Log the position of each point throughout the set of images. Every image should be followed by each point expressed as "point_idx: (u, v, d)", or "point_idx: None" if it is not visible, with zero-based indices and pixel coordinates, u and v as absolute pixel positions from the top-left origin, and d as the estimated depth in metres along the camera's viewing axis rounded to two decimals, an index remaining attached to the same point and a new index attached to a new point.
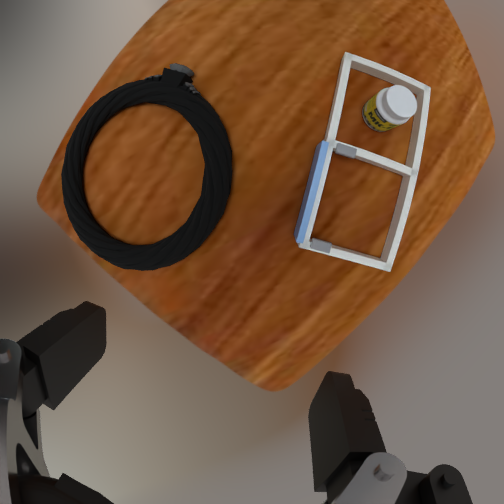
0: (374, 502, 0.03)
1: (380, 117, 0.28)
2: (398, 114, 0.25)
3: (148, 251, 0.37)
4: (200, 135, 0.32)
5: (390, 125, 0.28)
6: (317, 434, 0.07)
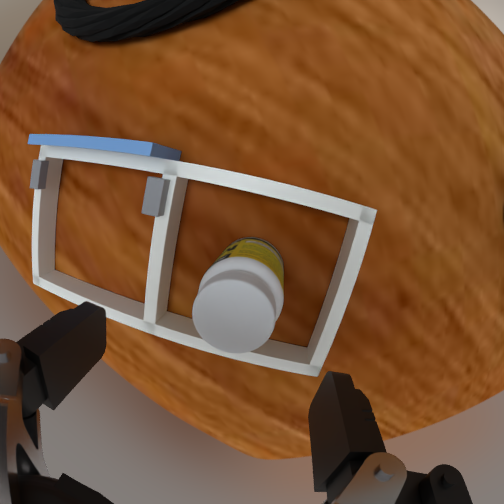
0: (374, 502, 0.03)
1: None
2: (194, 304, 0.13)
3: None
4: None
5: None
6: (317, 434, 0.07)
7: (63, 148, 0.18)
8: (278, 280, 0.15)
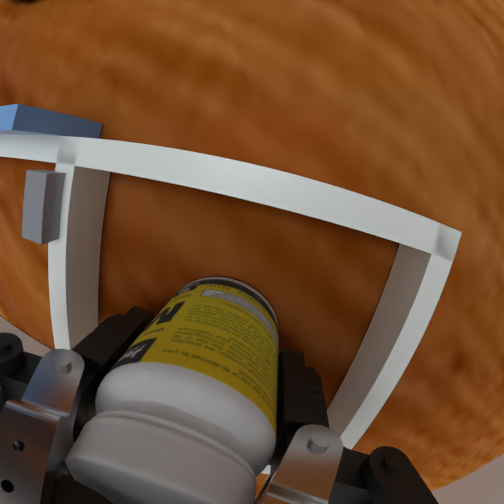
0: (313, 476, 0.04)
1: None
2: None
3: None
4: None
5: None
6: None
7: None
8: (264, 417, 0.05)
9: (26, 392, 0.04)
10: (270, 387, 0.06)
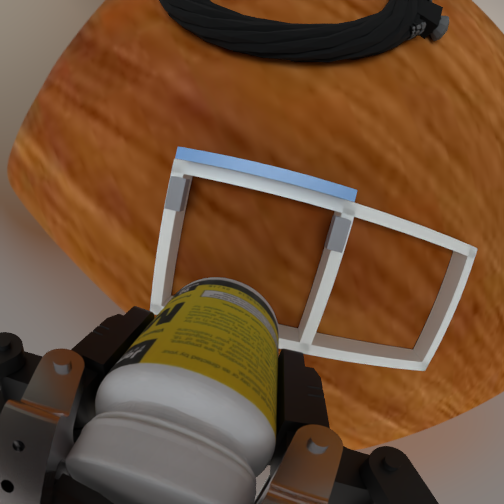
0: (313, 476, 0.04)
1: (115, 364, 0.06)
2: None
3: None
4: (351, 22, 0.16)
5: None
6: None
7: (215, 168, 0.20)
8: (264, 418, 0.05)
9: (25, 393, 0.04)
10: (270, 388, 0.06)
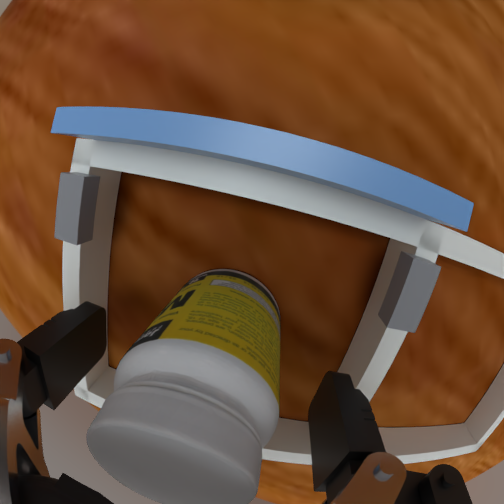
0: (373, 502, 0.03)
1: (133, 344, 0.07)
2: (88, 443, 0.04)
3: None
4: None
5: None
6: (317, 434, 0.07)
7: (145, 150, 0.09)
8: (269, 388, 0.06)
9: None
10: (273, 364, 0.07)
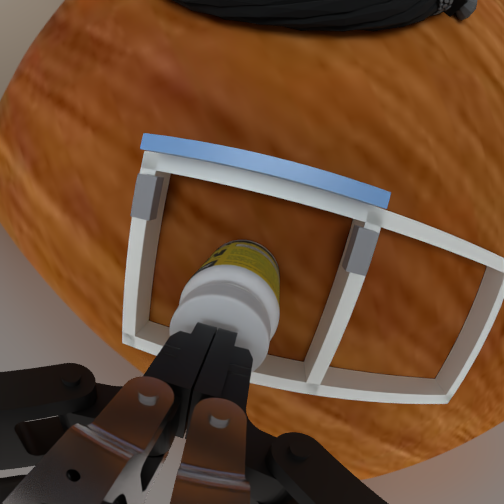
0: (222, 451, 0.04)
1: (194, 274, 0.13)
2: (172, 323, 0.10)
3: None
4: None
5: None
6: None
7: (196, 162, 0.15)
8: (273, 293, 0.12)
9: (97, 417, 0.04)
10: (275, 286, 0.14)
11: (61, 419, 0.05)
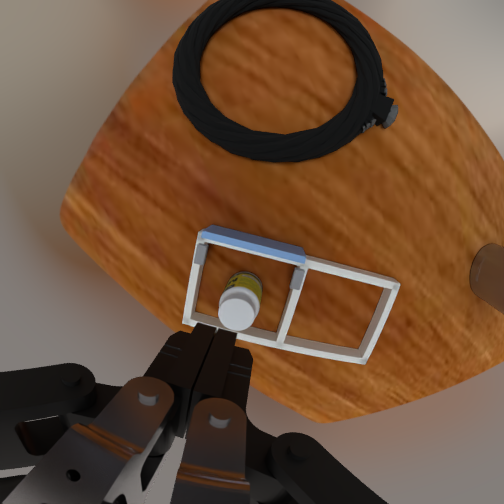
0: (222, 451, 0.04)
1: (225, 289, 0.33)
2: (219, 308, 0.30)
3: (191, 76, 0.30)
4: (315, 131, 0.30)
5: None
6: None
7: None
8: (257, 297, 0.32)
9: (98, 417, 0.04)
10: (258, 294, 0.33)
11: (61, 419, 0.05)
